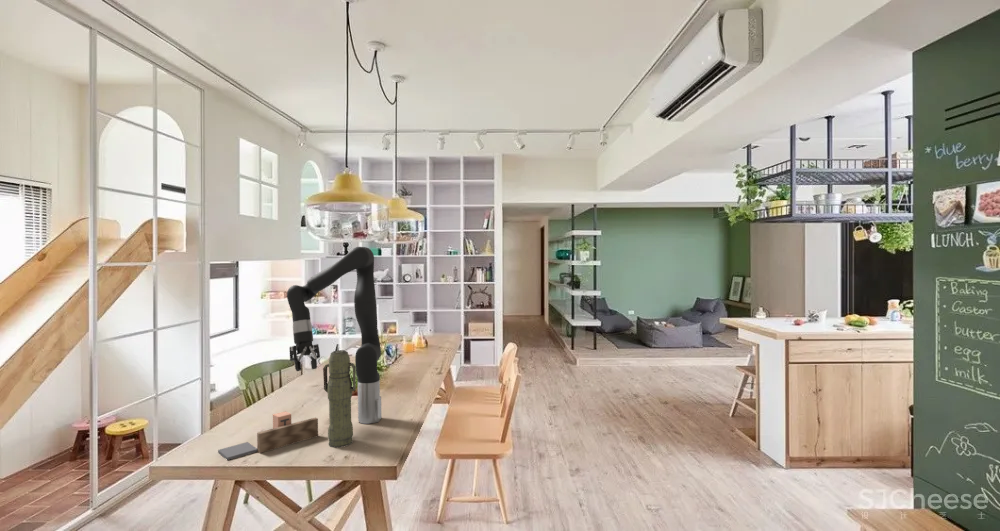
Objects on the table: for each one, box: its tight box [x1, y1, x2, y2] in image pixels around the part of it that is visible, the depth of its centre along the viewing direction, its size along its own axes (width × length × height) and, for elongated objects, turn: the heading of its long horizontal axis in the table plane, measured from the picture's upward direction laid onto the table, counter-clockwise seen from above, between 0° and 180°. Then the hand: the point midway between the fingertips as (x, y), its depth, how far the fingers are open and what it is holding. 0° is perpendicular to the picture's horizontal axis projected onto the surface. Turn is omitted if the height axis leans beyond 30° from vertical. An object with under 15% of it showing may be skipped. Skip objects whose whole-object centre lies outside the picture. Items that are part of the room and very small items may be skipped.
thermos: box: [322, 349, 357, 448], centre depth 180 cm, size 9×12×35 cm
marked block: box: [272, 410, 292, 429], centre depth 184 cm, size 5×5×10 cm
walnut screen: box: [256, 416, 319, 454], centre depth 180 cm, size 22×2×7 cm, turn 137°
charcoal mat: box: [217, 441, 259, 461], centre depth 173 cm, size 10×10×1 cm
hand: (306, 369), depth 199 cm, fingers open, 8 cm apart
